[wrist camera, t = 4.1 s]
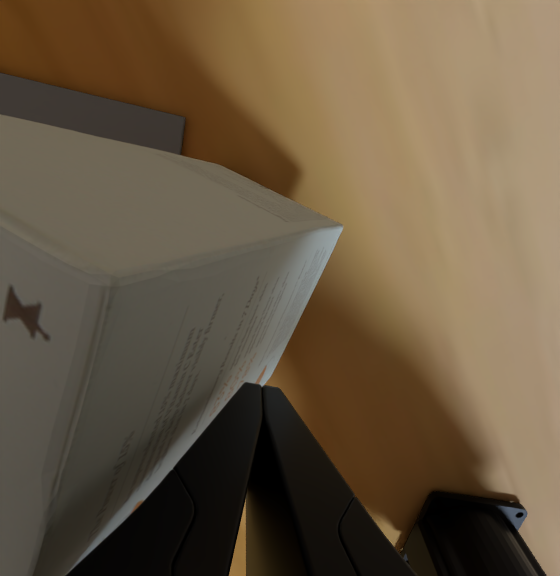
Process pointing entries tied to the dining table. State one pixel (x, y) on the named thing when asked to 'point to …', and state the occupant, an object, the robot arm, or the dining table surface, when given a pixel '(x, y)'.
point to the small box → (127, 323)
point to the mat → (90, 114)
